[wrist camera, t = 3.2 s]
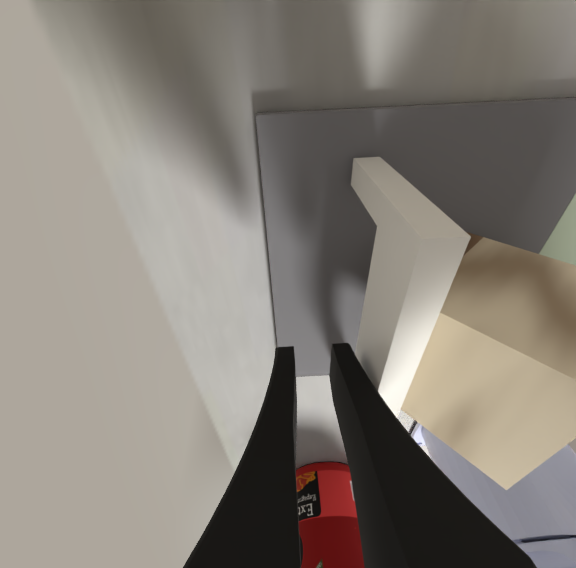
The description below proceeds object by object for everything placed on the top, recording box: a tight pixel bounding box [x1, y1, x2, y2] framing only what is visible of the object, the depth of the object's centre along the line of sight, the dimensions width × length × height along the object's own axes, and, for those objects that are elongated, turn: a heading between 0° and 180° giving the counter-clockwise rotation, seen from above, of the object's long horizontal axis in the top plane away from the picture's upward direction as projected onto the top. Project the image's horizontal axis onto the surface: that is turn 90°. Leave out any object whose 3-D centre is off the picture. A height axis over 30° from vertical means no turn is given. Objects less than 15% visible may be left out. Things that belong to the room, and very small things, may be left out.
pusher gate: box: [351, 157, 471, 418], centre depth 12 cm, size 1×13×6 cm, turn 2°
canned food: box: [296, 462, 365, 568], centre depth 29 cm, size 8×8×11 cm
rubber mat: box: [256, 97, 576, 377], centre depth 15 cm, size 26×16×1 cm, turn 92°
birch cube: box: [401, 232, 576, 490], centre depth 12 cm, size 6×6×6 cm
